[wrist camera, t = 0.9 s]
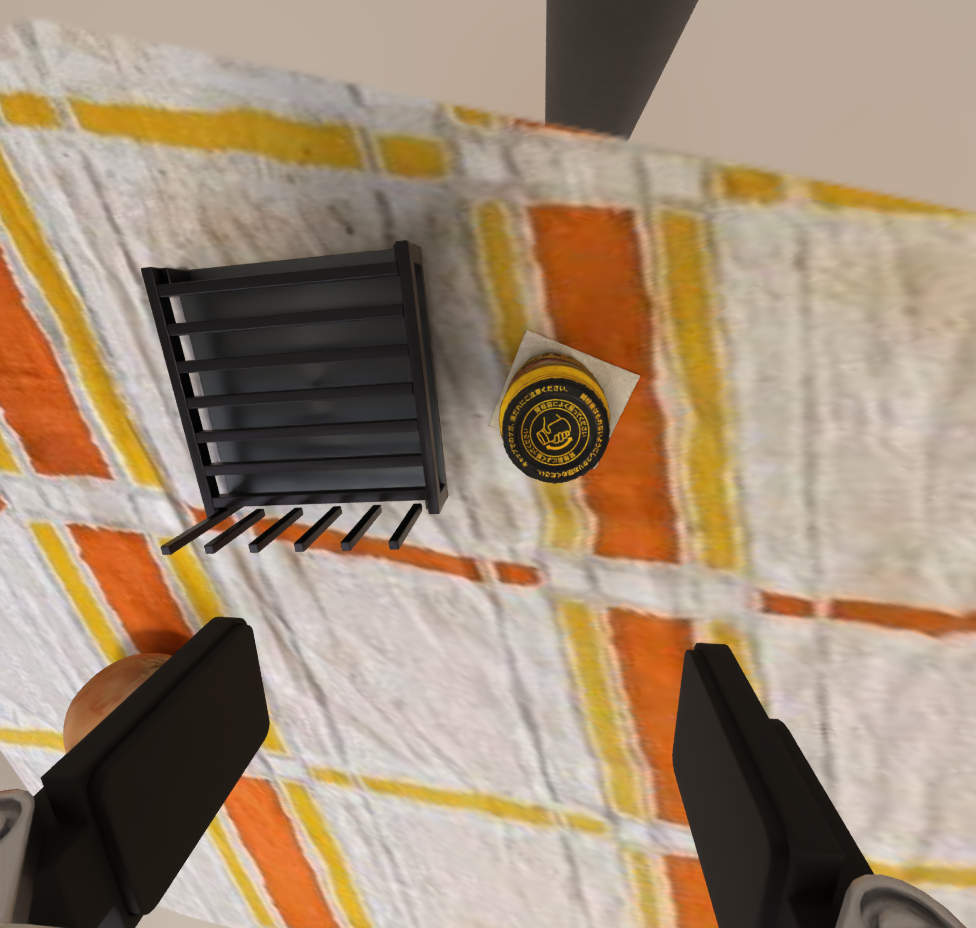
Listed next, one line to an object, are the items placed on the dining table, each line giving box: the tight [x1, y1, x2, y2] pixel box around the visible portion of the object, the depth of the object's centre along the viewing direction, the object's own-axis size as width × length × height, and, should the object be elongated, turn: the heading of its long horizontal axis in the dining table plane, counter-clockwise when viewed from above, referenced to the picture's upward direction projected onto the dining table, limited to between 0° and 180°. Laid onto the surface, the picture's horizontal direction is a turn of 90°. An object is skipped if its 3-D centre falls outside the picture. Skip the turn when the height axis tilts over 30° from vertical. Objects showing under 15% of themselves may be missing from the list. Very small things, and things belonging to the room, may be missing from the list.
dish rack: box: [141, 240, 448, 555], centre depth 32 cm, size 18×18×9 cm
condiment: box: [488, 330, 640, 483], centre depth 29 cm, size 7×8×12 cm
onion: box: [63, 653, 173, 754], centre depth 42 cm, size 10×10×10 cm
